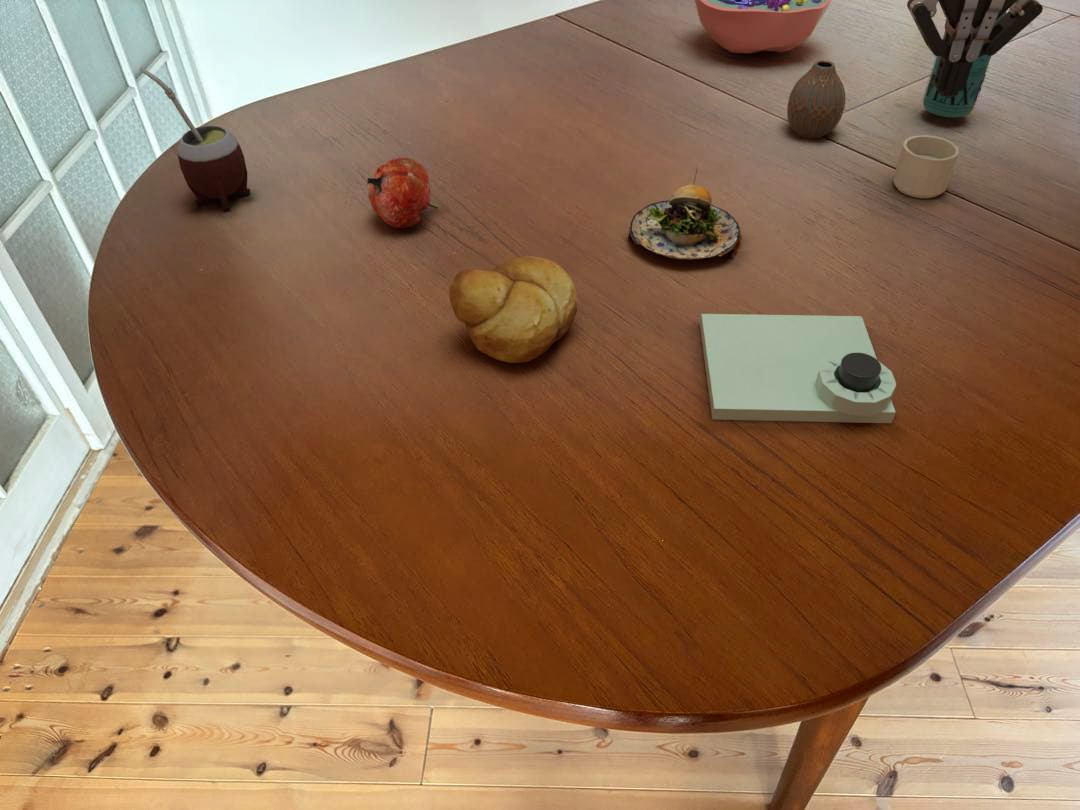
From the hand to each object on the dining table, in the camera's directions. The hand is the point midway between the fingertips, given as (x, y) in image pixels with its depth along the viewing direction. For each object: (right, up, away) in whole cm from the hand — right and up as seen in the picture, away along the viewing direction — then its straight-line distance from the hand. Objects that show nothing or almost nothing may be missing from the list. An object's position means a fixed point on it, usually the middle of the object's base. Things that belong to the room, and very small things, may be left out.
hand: (946, 93), depth 90 cm
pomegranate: (-58, -12, +7) cm, 60 cm away
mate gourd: (-81, -9, +11) cm, 82 cm away
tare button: (-16, -31, -18) cm, 39 cm away
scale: (-20, -30, -13) cm, 38 cm away
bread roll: (-44, -26, -8) cm, 52 cm away
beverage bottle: (+10, +5, +22) cm, 25 cm away
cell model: (-11, +21, +40) cm, 47 cm away
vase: (-8, +2, +20) cm, 22 cm away
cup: (+1, -7, +10) cm, 12 cm away
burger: (-27, -15, +3) cm, 31 cm away
